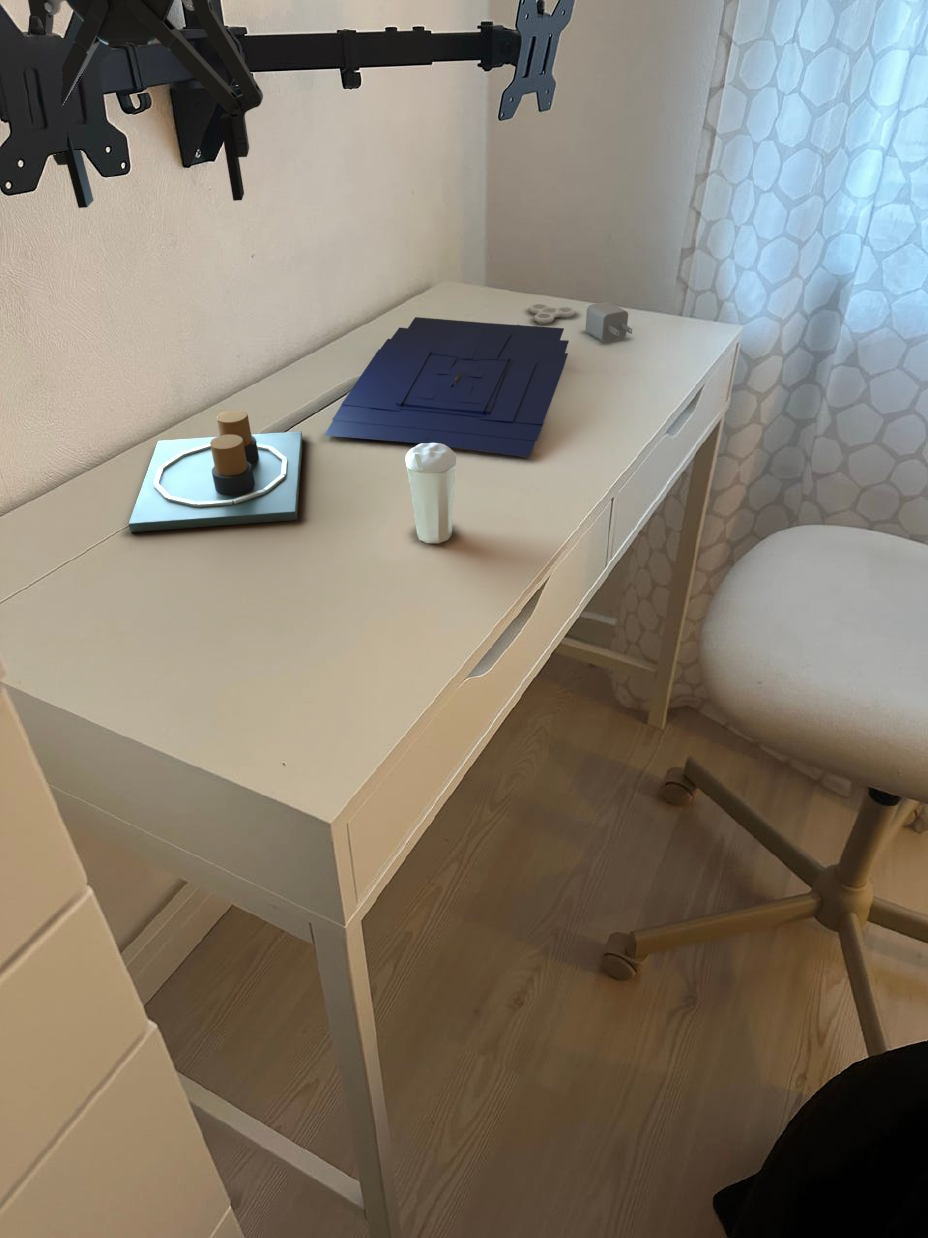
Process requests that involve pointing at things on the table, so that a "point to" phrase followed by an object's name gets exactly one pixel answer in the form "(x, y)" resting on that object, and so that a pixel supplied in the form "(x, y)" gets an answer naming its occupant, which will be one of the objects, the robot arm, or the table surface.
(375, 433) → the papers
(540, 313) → the fidget spinner
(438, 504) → the milkshake
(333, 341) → the table surface
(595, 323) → the usb wall charger
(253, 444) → the stamp
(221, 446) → the stamp
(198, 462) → the slate board
